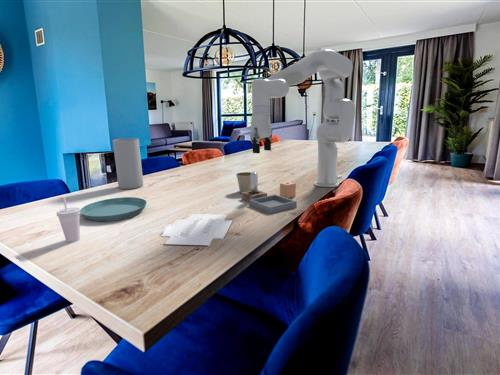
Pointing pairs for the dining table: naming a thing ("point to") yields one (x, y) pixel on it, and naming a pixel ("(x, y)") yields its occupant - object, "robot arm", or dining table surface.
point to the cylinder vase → (128, 163)
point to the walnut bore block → (249, 196)
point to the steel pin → (254, 183)
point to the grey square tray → (273, 203)
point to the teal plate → (113, 209)
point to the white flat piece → (197, 229)
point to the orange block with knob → (287, 189)
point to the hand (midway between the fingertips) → (262, 151)
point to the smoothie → (70, 222)
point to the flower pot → (244, 181)
